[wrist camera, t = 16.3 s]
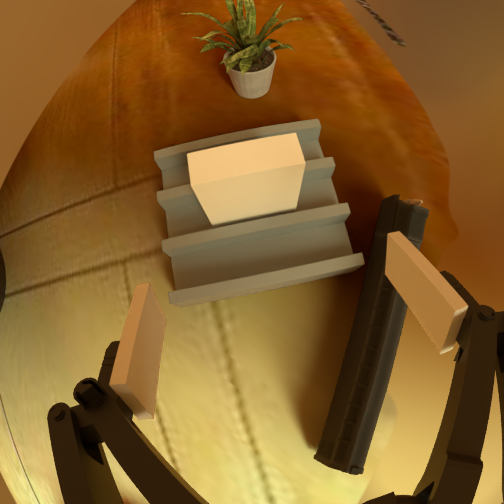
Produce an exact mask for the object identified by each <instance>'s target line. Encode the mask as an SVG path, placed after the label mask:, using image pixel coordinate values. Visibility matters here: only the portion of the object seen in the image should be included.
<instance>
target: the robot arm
mask: <svg viewBox="0 0 504 504" xmlns="http://www.w3.org/2000/svg"><path fill="white" fill-rule="evenodd" d="M385 275H386V276H387V277H388V279H389V280H390V282H391V283H392V284H393V286H394V287H395V288H396V290H397V291H398V293H399V294H400V295H401V297H402V298H403V300H404V301H405V303H406V304H407V305H408V307H409V308H410V310H411V311H412V313H413V314H414V316H415V317H416V318H417V320H418V321H419V323H420V324H421V326H422V327H423V329H424V330H425V332H426V333H427V335H428V336H429V338H430V340H431V341H432V343H433V344H434V345H435V347H436V349H437V350H438V352H439V354H442V353H445V352H447V351H450V350H452V349H453V347H454V344H455V342H456V341H457V342H458V344H459V345H460V347H459V349H458V352H457V354H456V356H455V359H454V361H456V364H455V370H454V375H453V379H452V384H451V388H450V393H449V396H448V400H447V404H446V408H445V412H444V415H443V419H442V422H441V426H440V429H439V432H438V435H437V439H436V442H435V445H434V448H433V451H432V453H431V456H430V459H429V462H428V464H427V467H426V470H425V472H424V475H423V477H422V478H421V480H420V482H419V483H418V485H417V487H416V489H415V491H414V493H413V495H412V496H410V495H395V494H394V492H391V493H389V494H386V495H383V496H381V497H378V498H375V499H372V500H369V501H366V502H365V503H363V504H472V502H473V499H474V496H475V493H476V489H477V486H478V483H479V480H480V476H481V472H482V469H483V462H482V461H481V459H480V457H481V452H482V448H483V444H484V439H485V434H486V430H487V424H488V419H489V413H490V407H491V401H492V393H493V385H494V376H495V370H496V377H497V384H498V392H499V401H500V412H501V426H502V494H503V502H502V504H504V311H502V312H495V311H494V310H493V309H492V308H491V307H489V306H486V305H479V304H478V303H477V302H476V301H475V299H474V298H473V297H472V296H471V295H470V294H469V292H468V291H467V290H466V289H465V288H463V286H462V285H461V284H460V283H459V281H458V280H456V278H455V277H454V276H453V275H451V274H450V273H448V272H446V271H442V272H438V271H437V270H436V268H435V267H434V266H433V265H432V264H431V263H430V262H429V261H428V260H427V259H426V258H425V257H424V256H423V255H422V254H421V253H420V252H419V250H418V249H417V248H416V247H415V246H414V245H413V244H412V243H411V242H410V241H409V240H408V239H407V238H406V237H405V236H404V235H403V234H402V233H401V232H400V231H397V232H392V233H388V236H387V253H386V267H385ZM4 293H5V269H4V264H3V260H2V257H1V255H0V311H1V308H2V304H3V300H4ZM165 325H166V318H165V316H164V314H163V312H162V310H161V307H160V305H159V303H158V301H157V298H156V296H155V294H154V292H153V289H152V287H151V285H150V282H149V283H144V284H139V285H137V286H136V289H135V292H134V295H133V299H132V302H131V305H130V308H129V312H128V315H127V319H126V322H125V325H124V329H123V333H122V336H121V340H120V341H114V342H111V344H110V345H109V347H108V348H107V349H106V352H105V356H104V360H103V363H102V367H101V370H100V373H99V377H98V381H97V380H96V379H94V378H85V379H83V380H81V381H80V382H79V383H78V384H77V385H76V387H75V389H74V392H73V395H74V399H75V400H76V401H77V402H78V403H79V404H80V405H77V406H74V407H71V408H70V407H69V406H68V405H67V404H65V403H62V402H60V403H57V404H55V405H53V406H52V407H51V409H50V410H49V412H48V417H47V419H48V427H49V434H50V440H51V446H52V451H53V457H54V462H55V466H56V471H57V475H58V480H59V484H60V488H61V492H62V496H63V499H64V503H65V504H124V503H123V501H122V498H121V496H120V493H119V491H118V488H117V486H116V483H115V481H114V478H113V475H112V472H111V470H110V467H109V464H108V461H107V458H106V455H105V452H104V449H103V446H102V443H103V442H105V444H106V445H107V447H108V448H109V450H110V451H111V453H112V454H113V456H114V457H115V458H116V460H117V461H118V463H119V464H120V466H121V467H122V468H123V470H124V471H125V472H126V474H127V475H128V477H129V478H130V479H131V481H132V482H133V483H134V484H135V486H136V487H137V488H138V490H139V491H140V492H141V493H142V495H143V496H144V497H145V498H146V499H147V501H148V502H149V503H150V504H209V503H208V502H207V501H206V500H205V499H203V498H202V497H201V496H200V495H199V494H198V493H197V492H196V491H195V490H194V489H193V488H192V487H191V486H190V485H189V484H188V483H187V482H186V481H185V480H184V479H183V478H182V477H181V476H180V475H179V474H178V473H177V472H176V471H175V470H174V468H173V467H172V466H171V465H170V464H169V463H168V462H167V461H166V460H165V459H164V458H163V456H162V455H161V454H160V453H159V452H158V451H157V450H156V448H155V447H154V446H153V445H152V444H151V443H150V441H149V440H148V439H147V438H146V437H145V435H144V434H143V433H142V432H141V431H140V429H139V428H138V427H137V426H136V424H135V423H134V422H133V421H132V417H133V414H134V415H135V416H136V417H137V418H138V419H154V412H155V402H156V393H157V384H158V376H159V368H160V360H161V352H162V345H163V338H164V331H165Z"/></svg>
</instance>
